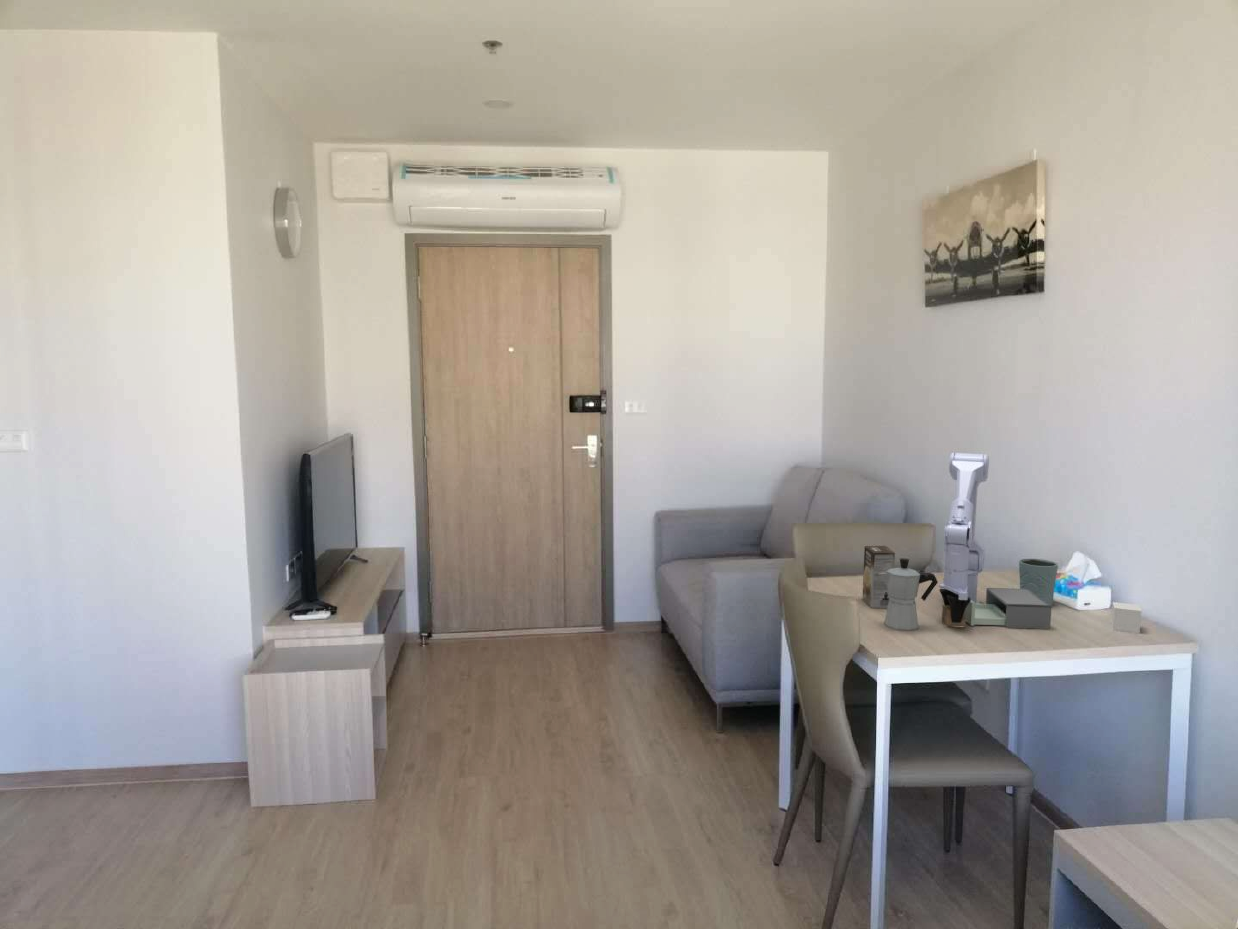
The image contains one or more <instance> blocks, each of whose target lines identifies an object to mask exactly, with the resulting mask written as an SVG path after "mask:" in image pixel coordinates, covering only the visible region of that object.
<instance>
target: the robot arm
mask: <svg viewBox="0 0 1238 929" xmlns="http://www.w3.org/2000/svg"><path fill="white" fill-rule="evenodd" d="M989 464H990V456H989V455H988V454H987V453H964V452H956V451H954V452H952V453H951V454H950V456H949V465H948V468H949V469H948V471H949V474H950V476H951V478H952V480H955V481H956V497H955V499H954V500H953V501H952V502H951V503H950V506H949V507H950V508H949V514H948V521H947V524H946V525H945V526H944V530H943V531H944V532H943V541H944V552H945V554H944V569H943V570H944V572H943V573H944V574H943V580H942V581H943V582H942V583H939V584H938V587H939V588H940V589H939V592H940V595H941V598H942V601H943V605H950V610H951V619H952V622H953V623H961V621H962V618H963V614H964V611H965V609H966V607H967V605H968V604H969V602H970V601H971V600H972V601H973V602H974V603H975V604H981V603H980V602H979V601H978V600H977V595H978V580H979V579H978V578H979V574H980V573H982V572H984V566H985V547H984V545H983V544H982V543H981V542H980V541H978V539H976V536H975V535H976V518H977V502H978V501H977V500H978V499H977V498H978V488H979V486H980V484H981V483H984V482H986V481H987V479H988V476H989V466H990V465H989Z"/></svg>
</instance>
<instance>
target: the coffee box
mask: <svg viewBox="0 0 1238 929" xmlns="http://www.w3.org/2000/svg"><path fill="white" fill-rule="evenodd" d="M863 551H864V552H863V554H864V555H863V578H862V579H863V580H862V600H863V602H865V603H866V604H867V605H868V606H869V607H870V608H871V609H887V608H888V603H889V599H890V596H889V595H888V588H887V586H886V584H885V582H884V580H883V578H882V576H881V575H880V574H879V573H882V572H886V571H888V570H889V569H892V568H895V562H896V552H895V551H893V550H892V549H890V548H889V547H888V546H886V545H865V546H864V550H863Z"/></svg>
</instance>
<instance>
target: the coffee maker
mask: <svg viewBox="0 0 1238 929" xmlns="http://www.w3.org/2000/svg"><path fill="white" fill-rule="evenodd" d="M909 561H910V558H909V559H908V558H905V557H904V558H902V557H901V558H899V562H900V567H894V568H892V569H889V570H888V571H886V572H882V573H879V574H880V575H881V576H882V578H883V580H884V582H885V584H886V586H887V588H888V595H889V596H890V599H889V603H888V608H886V614H885V618H884V625H885V627H886V628H888V629H892V630H895V631H909V632H911V631H912V632H913V631H915V630H917V629H919V620H918V612H917V604H916V601H915V600H916V598H917V596H918V592H919V587H920V584H923V583H926V582H929V581H931V583H930V584H929V585H928V587H927V588H926V589H925V591H924V593H923V594H922V595H921V597H920V598H921V600H922V601H923V602H925V601H926V600H927V598H928V597H929V595H930V594H931V593H932V591H933V590H934V589H935V587H936V586H937V584H938V582H939V581H938V579H937V577H936V575H935V573H932V572H925V570H923V569H918V570H916V569H912V568H909V567H908V565H909Z"/></svg>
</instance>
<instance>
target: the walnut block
mask: <svg viewBox="0 0 1238 929" xmlns="http://www.w3.org/2000/svg"><path fill="white" fill-rule="evenodd" d="M965 616H966V611H964V614H963V618H962V621H961V623H953V622H952V619H951V610H950V605H944V604H943V605H942V608H941V623H943V625H944V624H945V625H946V626H965V627H966V620H965ZM945 625H944V626H945ZM946 626H945V627H946Z"/></svg>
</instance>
